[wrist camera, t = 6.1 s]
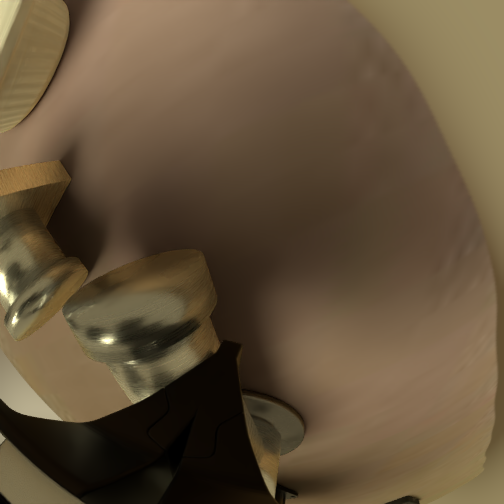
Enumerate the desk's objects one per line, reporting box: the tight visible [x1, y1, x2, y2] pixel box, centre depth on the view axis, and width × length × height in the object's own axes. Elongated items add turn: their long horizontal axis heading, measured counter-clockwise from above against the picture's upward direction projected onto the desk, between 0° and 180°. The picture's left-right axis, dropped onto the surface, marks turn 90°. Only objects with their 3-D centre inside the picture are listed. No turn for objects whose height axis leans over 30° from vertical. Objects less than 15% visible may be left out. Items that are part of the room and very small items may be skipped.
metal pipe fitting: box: [0, 160, 304, 456], centre depth 11 cm, size 23×8×6 cm, turn 40°
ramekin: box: [0, 0, 70, 133], centre depth 7 cm, size 11×11×5 cm
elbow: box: [62, 249, 282, 499], centre depth 10 cm, size 15×5×6 cm, turn 15°
